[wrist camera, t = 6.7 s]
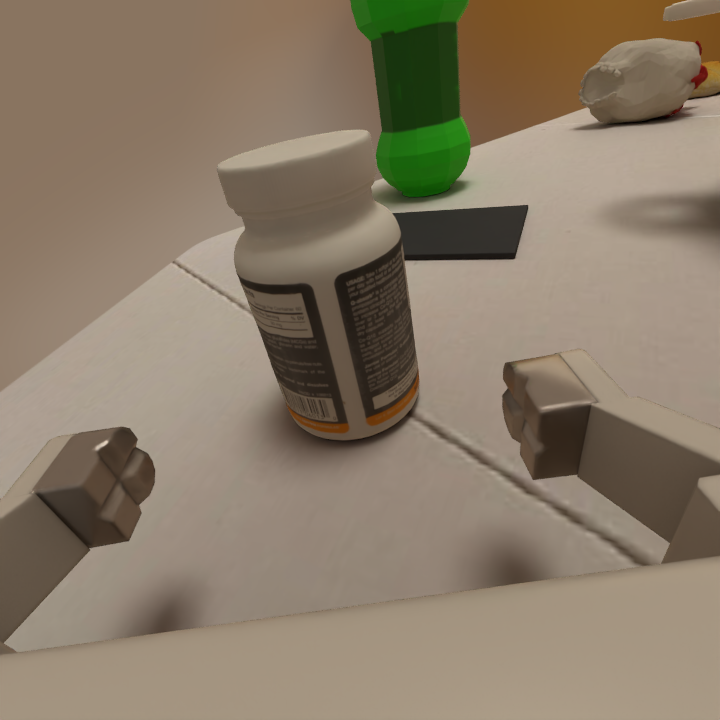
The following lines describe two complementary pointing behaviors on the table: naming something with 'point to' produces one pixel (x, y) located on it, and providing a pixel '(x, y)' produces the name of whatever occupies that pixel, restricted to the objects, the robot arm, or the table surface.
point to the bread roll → (709, 81)
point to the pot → (691, 9)
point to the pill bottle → (325, 281)
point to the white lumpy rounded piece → (642, 80)
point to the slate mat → (462, 233)
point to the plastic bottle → (417, 91)
